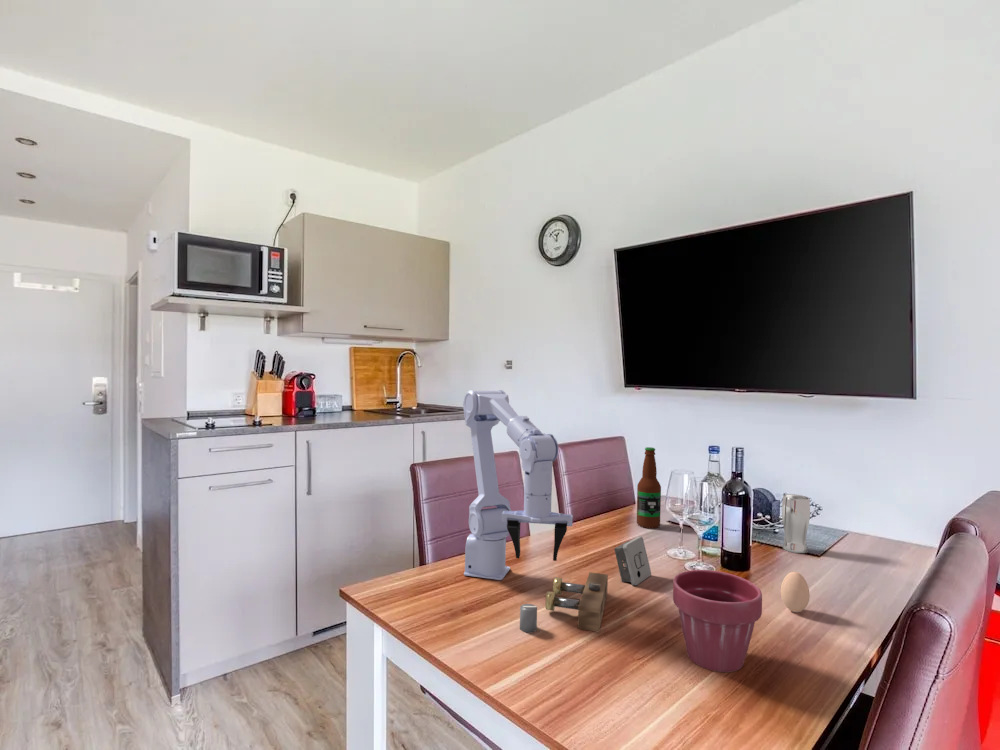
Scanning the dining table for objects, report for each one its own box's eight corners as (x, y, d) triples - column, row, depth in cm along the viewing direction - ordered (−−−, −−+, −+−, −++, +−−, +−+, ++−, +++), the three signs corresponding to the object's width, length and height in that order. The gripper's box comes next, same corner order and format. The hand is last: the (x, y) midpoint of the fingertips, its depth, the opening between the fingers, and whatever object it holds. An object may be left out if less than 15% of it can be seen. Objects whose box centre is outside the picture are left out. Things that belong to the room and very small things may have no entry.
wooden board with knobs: (577, 628, 102) (578, 600, 102) (589, 591, 119) (589, 567, 119) (599, 631, 100) (599, 603, 100) (607, 593, 118) (607, 569, 118)
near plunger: (545, 612, 107) (545, 595, 107) (548, 605, 110) (548, 588, 110) (585, 618, 104) (585, 601, 104) (587, 611, 108) (587, 594, 108)
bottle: (637, 528, 168) (639, 449, 168) (635, 521, 175) (637, 445, 175) (661, 529, 167) (663, 450, 167) (658, 523, 174) (660, 446, 174)
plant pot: (714, 690, 83) (716, 608, 83) (654, 646, 96) (656, 575, 95) (779, 671, 88) (781, 594, 88) (714, 632, 101) (716, 565, 101)
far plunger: (552, 596, 114) (553, 580, 114) (555, 590, 118) (555, 574, 118) (590, 601, 112) (590, 585, 112) (592, 595, 115) (592, 579, 115)
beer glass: (809, 548, 151) (811, 496, 151) (808, 555, 146) (809, 501, 145) (782, 544, 155) (783, 492, 155) (779, 550, 149) (781, 497, 149)
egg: (815, 616, 109) (816, 576, 109) (792, 618, 108) (793, 577, 108) (796, 605, 114) (797, 566, 114) (774, 606, 113) (775, 567, 113)
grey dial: (520, 632, 100) (521, 610, 99) (518, 624, 103) (519, 602, 103) (537, 632, 100) (538, 610, 100) (535, 624, 103) (536, 602, 103)
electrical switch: (635, 587, 122) (632, 546, 122) (614, 583, 125) (612, 543, 125) (652, 576, 129) (649, 537, 130) (632, 572, 132) (629, 534, 133)
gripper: (500, 495, 108) (499, 562, 108) (573, 499, 106) (571, 567, 106) (505, 487, 115) (503, 550, 115) (572, 491, 113) (571, 555, 113)
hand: (536, 557), depth 111 cm, fingers open, 7 cm apart
